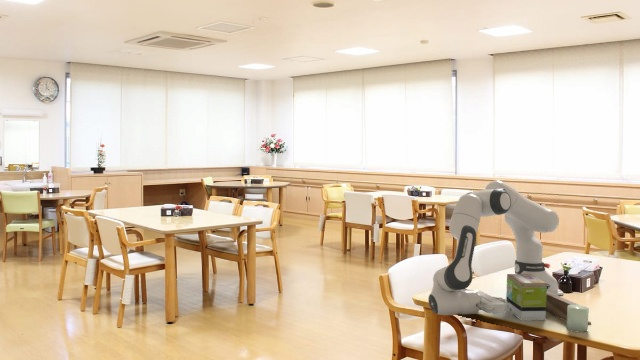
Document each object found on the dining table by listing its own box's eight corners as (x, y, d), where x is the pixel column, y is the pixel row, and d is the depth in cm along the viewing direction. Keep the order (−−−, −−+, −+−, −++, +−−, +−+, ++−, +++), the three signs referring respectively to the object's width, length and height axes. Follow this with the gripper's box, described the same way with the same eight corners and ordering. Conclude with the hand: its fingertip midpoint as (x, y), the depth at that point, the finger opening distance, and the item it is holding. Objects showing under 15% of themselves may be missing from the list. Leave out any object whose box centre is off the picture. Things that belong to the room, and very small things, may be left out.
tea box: (504, 309, 234) (506, 273, 233) (528, 309, 235) (530, 273, 234) (520, 320, 219) (522, 282, 219) (546, 320, 220) (548, 282, 219)
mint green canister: (579, 325, 215) (580, 304, 215) (591, 331, 208) (593, 309, 208) (562, 326, 214) (563, 305, 213) (574, 332, 207) (575, 310, 206)
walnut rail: (551, 306, 240) (552, 289, 240) (591, 324, 217) (592, 305, 216) (536, 306, 239) (537, 290, 238) (574, 325, 215) (575, 306, 215)
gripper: (484, 301, 211) (518, 299, 215) (458, 287, 231) (490, 286, 234) (484, 318, 212) (518, 316, 215) (458, 302, 232) (489, 301, 235)
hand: (503, 300), depth 225 cm, fingers closed
